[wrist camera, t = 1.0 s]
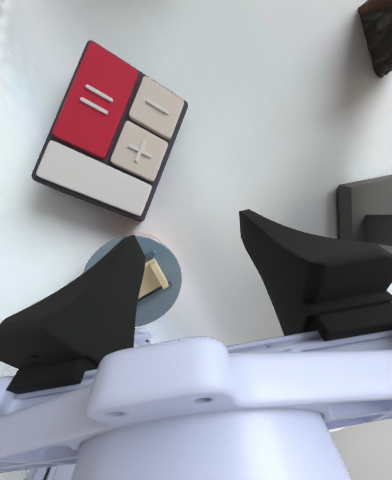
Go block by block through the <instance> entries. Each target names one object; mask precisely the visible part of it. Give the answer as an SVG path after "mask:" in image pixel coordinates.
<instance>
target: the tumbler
mask: <svg viewBox="0 0 392 480" xmlns="http://www.w3.org/2000/svg"><path fill="white" fill-rule="evenodd" d="M131 235H135V237H136V239H137V241H138V243H139V245H140V247H141V249H142V251H143V253H144V255H145V256H146V259H145V263H146V262H148V261H149V260H151V259H153V258H155V260H156V262H157V263H158V265H159V267H160V269H161V271H162V272H163V274H164V276H165V278H166V279H167V282H168V285H169V286H168V287H167V288H165V289H163V288H162V286H160V287H158V288H156V289H154V290H153V291H151V292H149V293H147V294H146V295H144V296H142V297H141V298H138V302H137V310H136V319H135V327H136V326H142V325H145V324H148V323H151V322H153V321H155V320H157V319H158V318H160V317H161V316H163V315H164V314H165V313H166V312H167V311H168V310H169V309H170V308H171V307H172V305H173V304H174V302H175V301H176V299H177V297H178V294H179V292H180V288H181V281H182V276H181V269H180V266H179V263H178V261H177V259H176V257H175V256H174V254H173V253H172V252H171V251H170V249H168V248H167V247H166V246H165V245H164V244H162V243H161V242H160V241H159V240H157V239H156V238H154V237H152V236H150V235H146V234H140V233H134V234H129V235H125V236H123V237H121V238H117V239H115V240H113V241H110V242H109V243H107V244H105V245H104V246H103V247H101V248H100V249H99V250H98V251H97V252H96V253H94V255H93V256H92V257H91V258H90V260H89V261H88V263H87V265H86V267H85V270H84V273H85V272H86V271H87V270H88V269H90V268H91V267H92V266H93V265H95V264H96V263H97V262H98V261H99V260H100V259H101V258H102V257H104V256H105V255H106V254H107V253H108V252H109V251H110V250H111V249H112V248H113V247H114V246H115V245H116V244H118V243H119V242H120V241H121V240H122V239H123V238H125V237H126V236H131Z"/></svg>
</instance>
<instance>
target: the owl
mask: <svg viewBox="0 0 392 480" xmlns="http://www.w3.org/2000/svg"><path fill="white" fill-rule="evenodd" d="M359 12H360V16H361V20H362V23H363V27H364V32H365V36H366V38H367V41H368V49H369V52H370V54H371V56H372V62H373V68H374V71H375V72H376V74H377V75H378V76H379V77H380V78H382V77H383V76H384V75H387V74H388V73H389V72H390V71H392V0H367V1H366V2H365V3H364V4H363V5H362V6H360V7H359Z"/></svg>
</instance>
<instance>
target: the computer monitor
mask: <svg viewBox="0 0 392 480" xmlns="http://www.w3.org/2000/svg"><path fill="white" fill-rule="evenodd" d="M337 199H338V224H339V239H340V240H347V241H356V242H366V243H376V244H378V245H379V246H381V247H382V248H384V249H386V250H387V251H389V252H390V253H392V175H388V176H383V177H378V178H373V179H368V180H362V181H357V182H352V183H347V184H342V185H339V187H338V189H337Z"/></svg>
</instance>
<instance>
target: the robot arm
mask: <svg viewBox="0 0 392 480" xmlns="http://www.w3.org/2000/svg"><path fill="white" fill-rule="evenodd" d="M239 216H240V231H241V238H242V241H243V244H244V246H245V248H246V250H247V252H248V254H249V256H250V258H251V259H252V261H253V263H254V265H255V266H256V268H257V270H258V272H259V274H260V276H261V278H262V280H263V282H264V284H265V287H266V289H267V292H268V294H269V296H270V299H271V301H272V304H273V306H274V309H275V312H276V314H277V317H278V320H279V322H280V325H281V328H282V331H283V333H284V336H283V337H277V338H272V339H266V340H260V341H255V342H249V343H243V344H237V345H232V346H225V345H224V344H223V343H222V342H221V341H219V340H218V339H214V338H210V337H189V338H184V339H178V340H173V341H167V342H162V343H156V344H151V345H150V334H149V333H145V334H137V335H134V331H135V319H136V310H137V302H138V297H139V293H140V288H141V284H142V280H143V275H144V270H145V259H146V256H145V255H144V253H143V251H142V249H141V247H140V245H139V243H138V241H137V239H136V237H135V235H131V236H126V237H125V238H123V239H122V240H121V241H120V242H119V243H118V244H116V245H115V246H114V247H113V248H112V249H111V250H110V251H109V252H108V253H107V254H106V255H105V256H104V257H102V258H101V259H100V260H99V261H98V262H97V263H96V264H95V265H93V266H92V267H91V268H90V269H88V270H87V271H86V272H85V273H83V274H82V275H81V276H79V277H78V278H76V279H75V280H74V281H72V282H71V283H69V284H67V285H66V286H64V287H63V288H61V289H60V290H58V291H57V292H55V293H53V294H52V295H50V296H48V297H46V298H45V299H43V300H41V301H39V302H37V303H36V304H34V305H32V306H30V307H28V308H26V309H24V310H22V311H20V312H18V313H16V314H14V315H12V316H10V317H8V318H6V319H5V320H4V321H3V322H2V323H1V324H0V361H2V362H4V363H6V364H8V365H11V366H13V367H15V368H18V369H19V370H18V371H17V373H16V375H15V376H14V377H10V376H5V377H0V473H2V472H10V471H18V470H26V469H30V470H29V473H28V475H27V477H26V479H25V480H351V478H350V476H349V473H348V471H347V469H346V467H345V465H344V463H343V461H342V459H341V457H340V455H339V452H338V450H337V448H336V446H335V444H334V442H333V439H332V438H331V435H330V433H329V431H328V430H329V429H335V428H340V427H346V426H351V425H357V424H363V423H368V422H374V421H379V420H384V419H391V418H392V302H391V301H392V295H391V294H390V293H389V292H388V291H386V290H387V288H388V287H389V286H390V284H391V283H392V253H390V252H389V251H387V250H386V249H384V248H382V247H381V246H379V245H378V244H376V243H366V242H356V241H347V240H340V239H333V238H327V237H322V236H317V235H313V234H309V233H305V232H301V231H298V230H295V229H292V228H289V227H286V226H283V225H281V224H278V223H276V222H274V221H271V220H269V219H267V218H265V217H263V216H261V215H259V214H257V213H255V212H253V211H251V210H249V209H248V210H243V211H239ZM145 340H148V341H145Z"/></svg>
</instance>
